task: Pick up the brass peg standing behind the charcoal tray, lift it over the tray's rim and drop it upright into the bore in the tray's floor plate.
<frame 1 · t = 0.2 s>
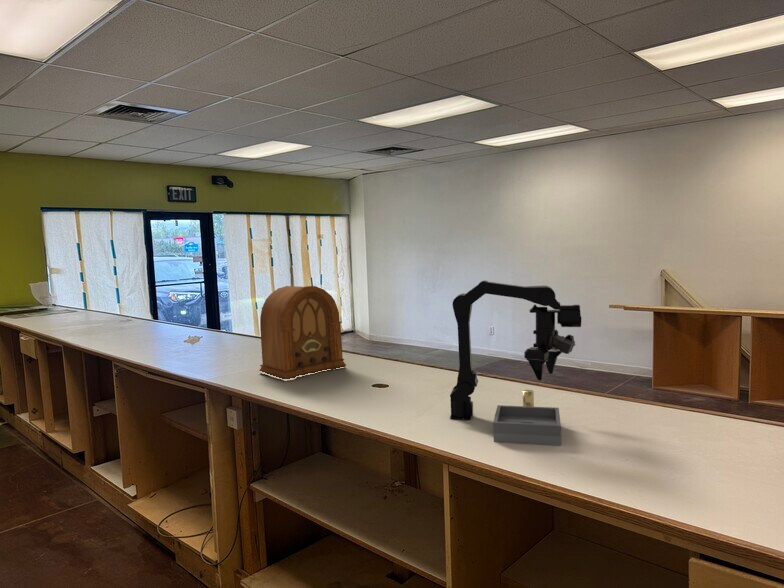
hand: (545, 376, 160), 14 cm above the counter, fingers open, 9 cm apart
radio: (303, 371, 242), on the counter
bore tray: (527, 433, 150), on the counter
brass peg: (528, 415, 166), on the counter
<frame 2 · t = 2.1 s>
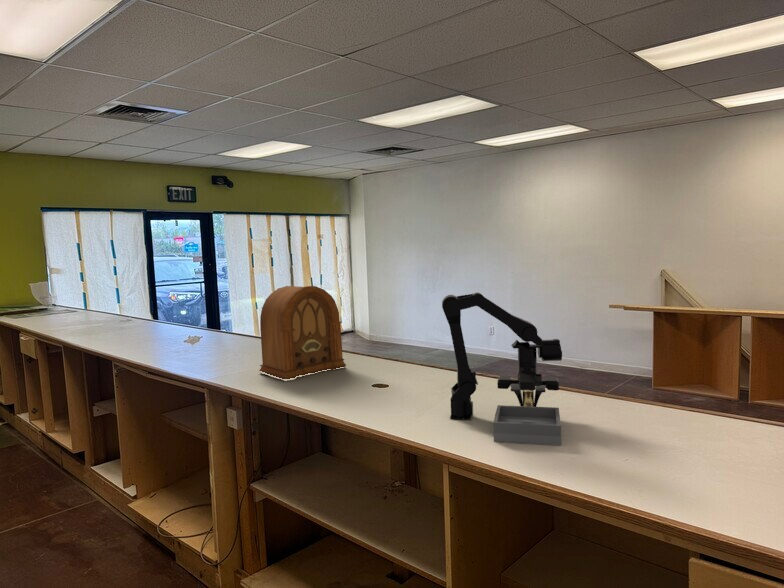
hand: (528, 409, 165), 2 cm above the counter, fingers closed on brass peg, 3 cm apart
brass peg: (528, 415, 166), on the counter, touching gripper
everything else where it was.
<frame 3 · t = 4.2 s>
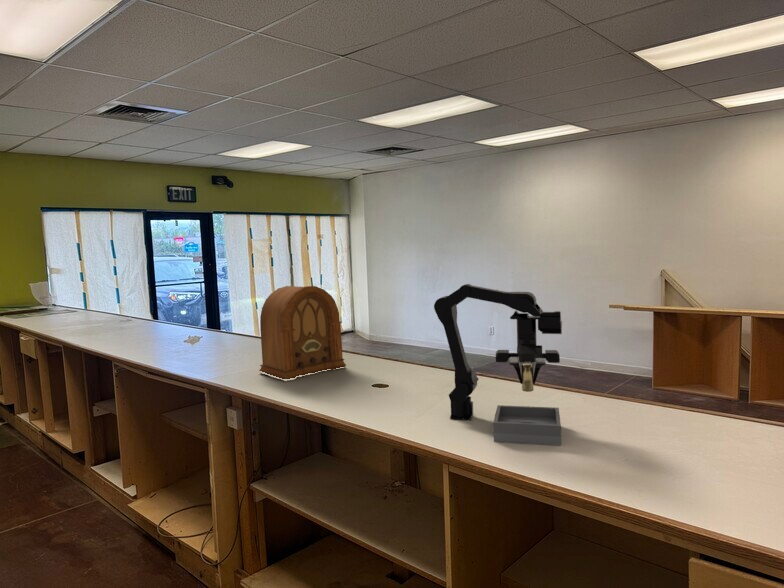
hand: (527, 383, 159), 12 cm above the counter, fingers closed on brass peg, 3 cm apart
brass peg: (527, 390, 159), point 10 cm above the counter, touching gripper
everything else where it was.
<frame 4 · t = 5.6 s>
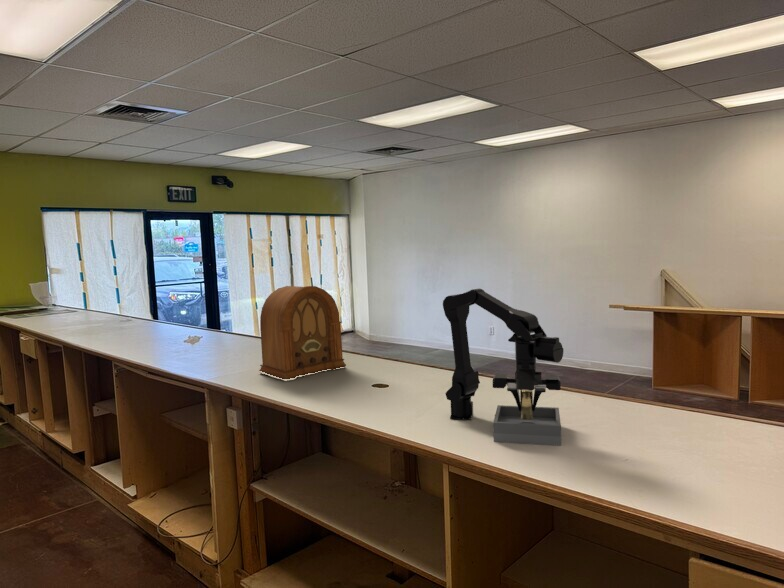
hand: (526, 410, 150), 7 cm above the counter, fingers closed on brass peg, 3 cm apart
brass peg: (526, 417, 150), point 5 cm above the counter, touching gripper
everything else where it was.
when the fingers open (3 cm above the counter, at t = 6.6 s): brass peg drops 1 cm, resting in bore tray.
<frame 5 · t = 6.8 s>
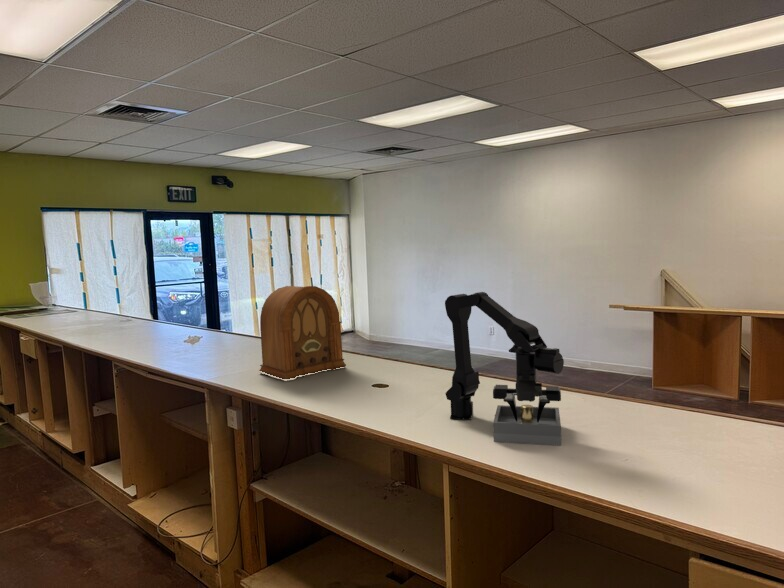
hand: (527, 421, 150), 3 cm above the counter, fingers open, 6 cm apart
brass peg: (527, 433, 150), resting in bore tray
everything else where it was.
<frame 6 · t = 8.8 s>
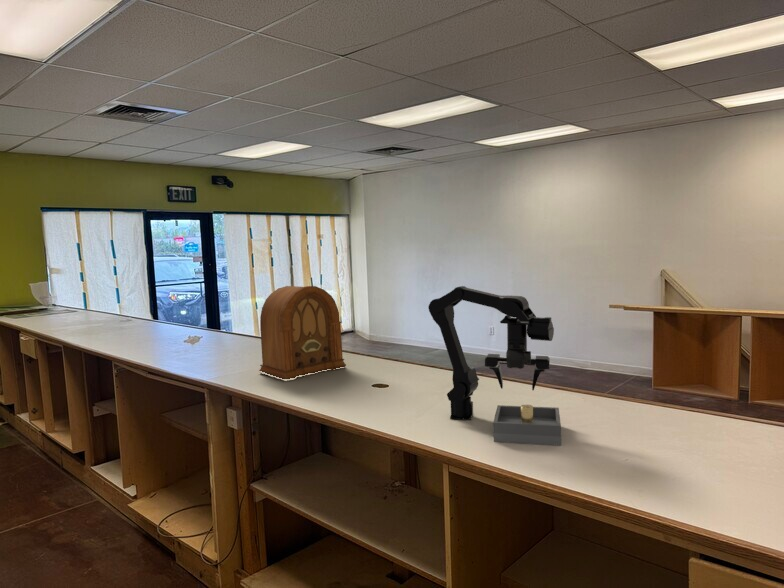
hand: (517, 389, 157), 11 cm above the counter, fingers open, 9 cm apart
nothing on the counter moved.
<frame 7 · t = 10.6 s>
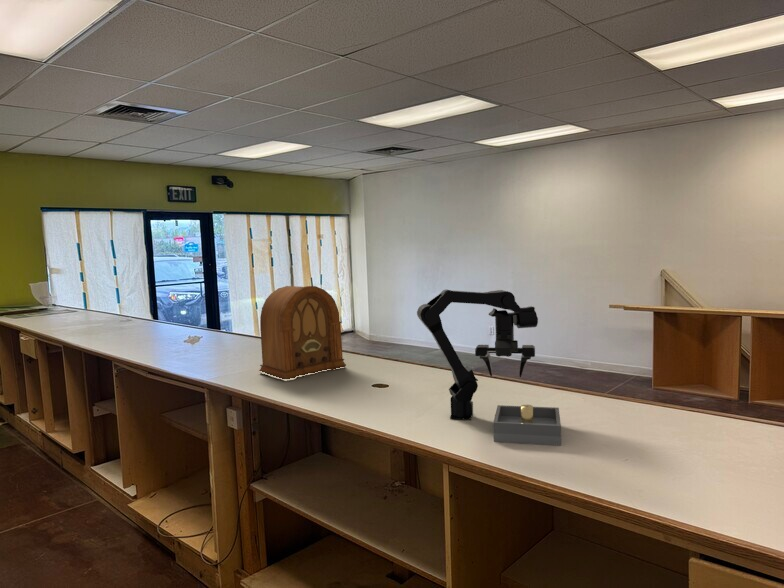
hand: (505, 376, 168), 12 cm above the counter, fingers open, 9 cm apart
nothing on the counter moved.
at the end: brass peg 0.0 cm off-centre on the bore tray, point 0.0 cm above the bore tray's base; brass peg tilted 0°; the gripper is holding nothing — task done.
